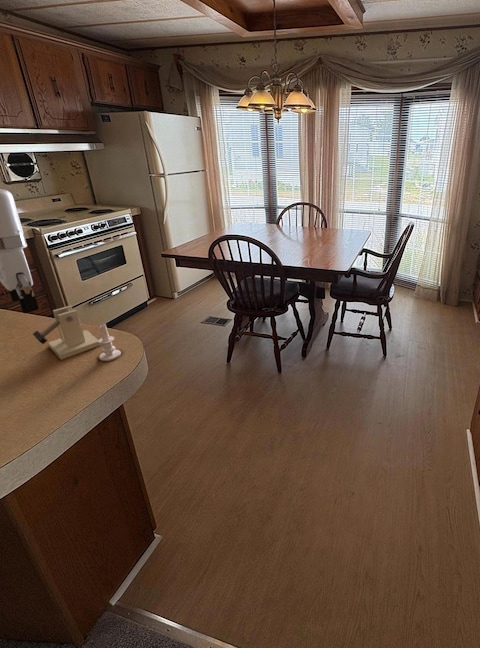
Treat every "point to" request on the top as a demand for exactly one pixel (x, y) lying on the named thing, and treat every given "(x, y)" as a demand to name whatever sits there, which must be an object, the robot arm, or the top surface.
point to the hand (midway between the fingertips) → (25, 305)
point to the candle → (107, 345)
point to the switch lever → (47, 330)
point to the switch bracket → (71, 335)
